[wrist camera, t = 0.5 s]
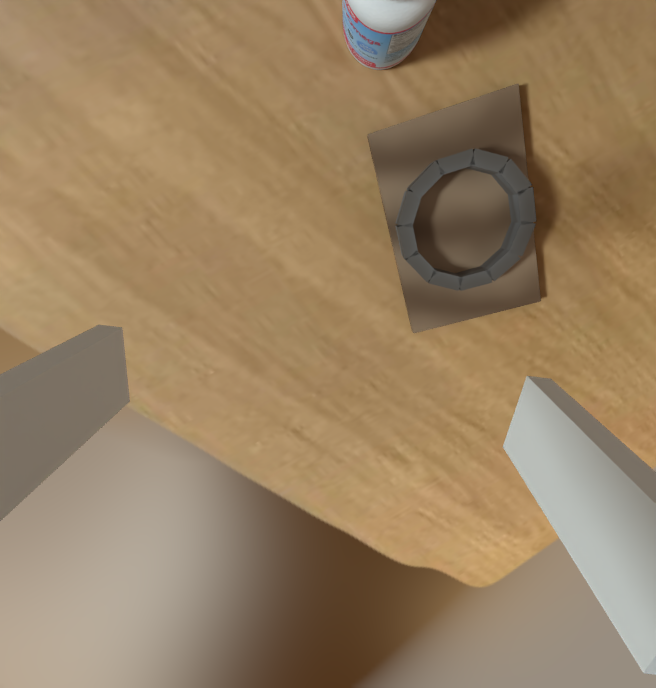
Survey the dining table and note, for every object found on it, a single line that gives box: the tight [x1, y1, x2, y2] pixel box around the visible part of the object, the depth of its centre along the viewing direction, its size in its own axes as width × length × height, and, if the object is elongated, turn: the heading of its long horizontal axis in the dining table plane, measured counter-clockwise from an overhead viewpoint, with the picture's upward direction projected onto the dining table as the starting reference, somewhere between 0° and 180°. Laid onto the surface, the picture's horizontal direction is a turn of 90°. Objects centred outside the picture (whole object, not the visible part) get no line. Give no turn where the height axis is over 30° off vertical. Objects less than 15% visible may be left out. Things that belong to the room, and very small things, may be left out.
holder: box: [367, 84, 541, 333], centre depth 32 cm, size 18×12×3 cm, turn 16°
